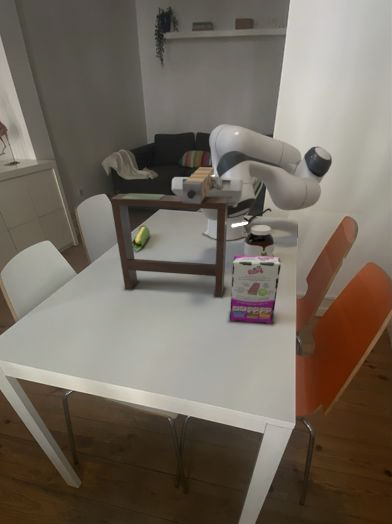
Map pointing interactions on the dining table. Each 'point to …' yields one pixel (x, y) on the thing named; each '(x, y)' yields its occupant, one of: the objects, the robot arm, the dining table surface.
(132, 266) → the dark brown wooden frame
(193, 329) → the dining table surface
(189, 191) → the light wood square bar
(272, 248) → the spread jar
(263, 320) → the candy bar box
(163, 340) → the dining table surface
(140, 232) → the edible corn
